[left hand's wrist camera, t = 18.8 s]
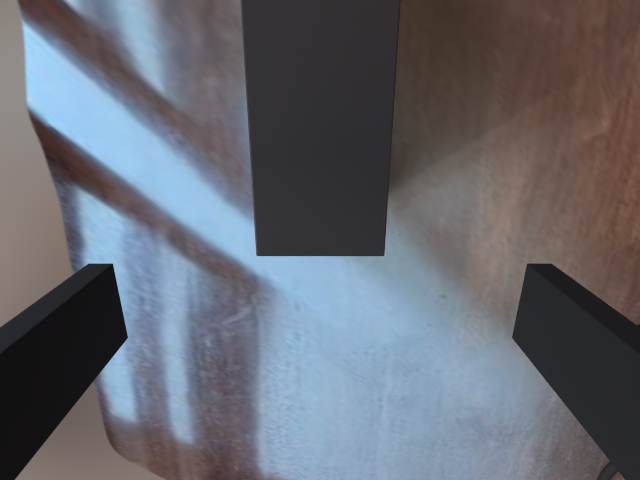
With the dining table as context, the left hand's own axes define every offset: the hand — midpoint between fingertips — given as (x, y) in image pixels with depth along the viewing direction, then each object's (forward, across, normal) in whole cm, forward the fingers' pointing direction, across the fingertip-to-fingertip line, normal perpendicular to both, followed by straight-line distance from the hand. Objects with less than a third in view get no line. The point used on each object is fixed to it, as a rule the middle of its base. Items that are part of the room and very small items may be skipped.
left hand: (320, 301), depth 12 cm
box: (+22, 0, -7) cm, 24 cm away
